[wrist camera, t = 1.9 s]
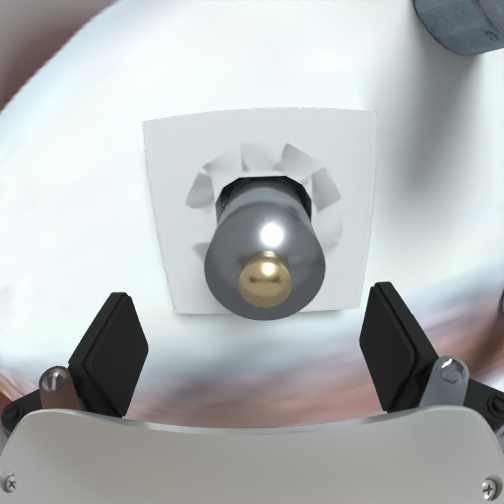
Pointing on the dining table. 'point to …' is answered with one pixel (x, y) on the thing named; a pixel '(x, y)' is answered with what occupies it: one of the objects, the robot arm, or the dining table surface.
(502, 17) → the moka pot
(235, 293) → the end cover
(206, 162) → the housing
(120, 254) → the dining table surface
